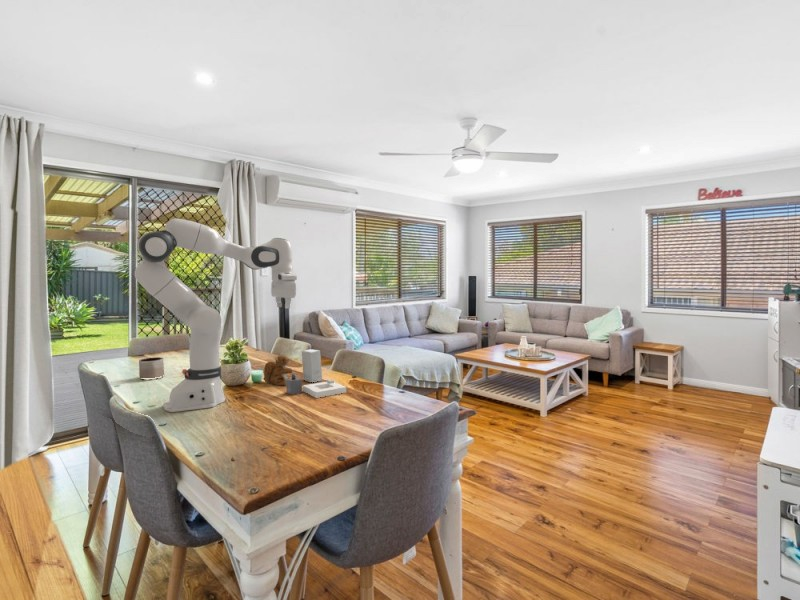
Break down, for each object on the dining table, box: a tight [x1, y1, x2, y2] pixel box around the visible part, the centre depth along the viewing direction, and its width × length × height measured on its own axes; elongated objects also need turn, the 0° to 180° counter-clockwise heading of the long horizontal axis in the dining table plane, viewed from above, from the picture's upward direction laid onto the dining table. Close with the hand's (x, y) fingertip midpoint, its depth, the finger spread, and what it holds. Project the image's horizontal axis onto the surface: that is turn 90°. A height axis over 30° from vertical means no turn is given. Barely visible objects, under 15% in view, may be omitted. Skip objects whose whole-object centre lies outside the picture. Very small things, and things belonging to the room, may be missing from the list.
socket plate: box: [302, 379, 347, 399], centre depth 193 cm, size 14×14×3 cm
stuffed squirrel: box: [263, 354, 293, 386], centre depth 210 cm, size 10×14×13 cm
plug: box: [285, 373, 303, 396], centre depth 192 cm, size 5×5×8 cm
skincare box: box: [301, 348, 323, 384], centre depth 213 cm, size 8×6×15 cm
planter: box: [138, 356, 165, 379], centre depth 223 cm, size 11×11×10 cm
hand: (283, 307), depth 193 cm, fingers open, 8 cm apart
